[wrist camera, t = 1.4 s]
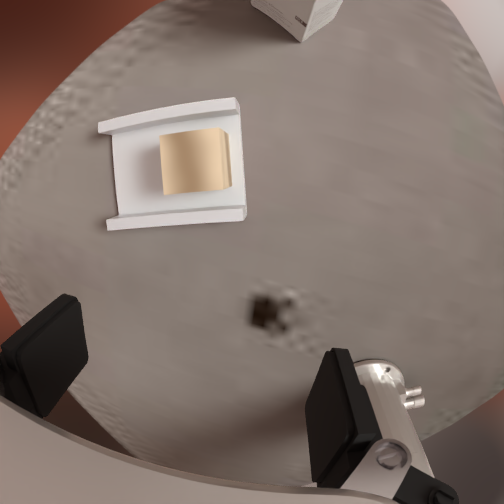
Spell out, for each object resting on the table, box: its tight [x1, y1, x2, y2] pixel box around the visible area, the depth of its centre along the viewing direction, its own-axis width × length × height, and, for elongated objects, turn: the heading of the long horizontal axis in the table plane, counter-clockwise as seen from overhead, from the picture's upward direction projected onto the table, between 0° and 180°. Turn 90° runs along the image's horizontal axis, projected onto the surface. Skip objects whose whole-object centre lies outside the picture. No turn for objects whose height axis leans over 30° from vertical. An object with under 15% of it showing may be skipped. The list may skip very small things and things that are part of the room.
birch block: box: [159, 127, 232, 195], centre depth 28 cm, size 6×6×6 cm
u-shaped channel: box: [98, 97, 247, 230], centre depth 29 cm, size 15×12×4 cm
